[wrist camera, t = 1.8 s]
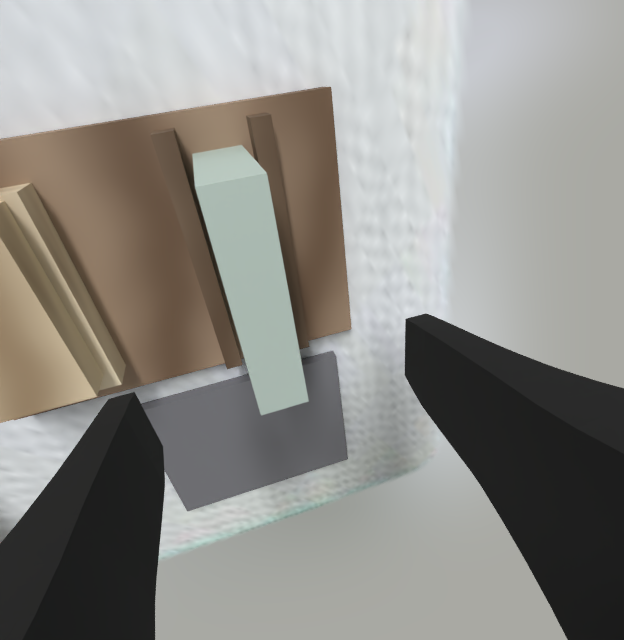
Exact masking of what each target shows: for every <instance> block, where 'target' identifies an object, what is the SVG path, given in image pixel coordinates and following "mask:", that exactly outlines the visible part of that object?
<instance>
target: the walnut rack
mask: <svg viewBox="0 0 624 640" xmlns="http://www.w3.org/2000/svg"><path fill="white" fill-rule="evenodd" d="M238 145H242V146H243V147H244V148H245V149H246V150H247V151H248V152H249V154H250V155H251V156H252V157H253V158H254V159H255V160H256V161H257V162H258V164H259V165H260V166H261V167H262V168H263V169H264V170H265V171H266V173H267V176H268V181H269V187H270V192H271V198H272V203H273V209H274V214H275V220H276V225H277V231H278V236H279V242H280V247H281V253H282V258H283V263H284V269H285V274H286V280H287V285H288V291H289V296H290V302H291V307H292V313H293V318H294V324H295V329H296V334H297V340H298V345H299V349H303V348H306V347H309V343H308V341H309V340H313V339H317V338H320V337H324V336H328V335H331V334H335V333H339V332H342V331H346V330H350V329H351V319H350V307H349V295H348V283H347V271H346V259H345V247H344V235H343V223H342V211H341V199H340V187H339V175H338V163H337V151H336V140H335V128H334V116H333V104H332V92H331V87H320V88H313V89H307V90H301V91H295V92H289V93H283V94H276V95H270V96H264V97H258V98H252V99H245V100H239V101H233V102H227V103H221V104H214V105H208V106H202V107H196V108H190V109H184V110H177V111H171V112H165V113H159V114H153V115H146V116H140V117H134V118H128V119H122V120H115V121H109V122H103V123H97V124H91V125H85V126H78V127H72V128H66V129H60V130H54V131H47V132H41V133H35V134H29V135H23V136H16V137H10V138H4V139H0V188H5V187H11V186H16V185H22V184H27V183H32V185H33V187H34V189H35V191H36V193H37V195H38V197H39V198H40V200H41V202H42V204H43V206H44V208H45V210H46V212H47V214H48V216H49V218H50V220H51V222H52V224H53V226H54V227H55V229H56V231H57V233H58V235H59V237H60V239H61V241H62V243H63V245H64V247H65V249H66V251H67V253H68V254H69V256H70V258H71V260H72V262H73V264H74V266H75V268H76V270H77V272H78V274H79V276H80V278H81V280H82V281H83V283H84V285H85V287H86V289H87V291H88V293H89V295H90V297H91V299H92V301H93V303H94V305H95V307H96V308H97V310H98V312H99V314H100V316H101V318H102V320H103V322H104V324H105V326H106V328H107V330H108V332H109V334H110V336H111V337H112V339H113V341H114V343H115V345H116V347H117V349H118V351H119V353H120V355H121V357H122V359H123V361H124V363H125V364H126V367H125V372H124V377H123V381H122V385H118V386H114V387H111V388H107V389H103V390H99V392H98V396H97V397H94V398H91V399H95V398H98V397H102V396H106V395H109V394H113V393H117V392H120V391H124V390H128V389H132V388H135V387H139V386H143V385H146V384H150V383H154V382H157V381H161V380H165V379H169V378H172V377H176V376H180V375H183V374H187V373H191V372H194V371H198V370H202V369H206V368H209V367H213V366H217V365H220V364H224V363H225V364H226V367H227V369H229V368H233V367H237V366H240V365H242V360H241V359H243V358H244V355H243V352H242V348H241V345H240V341H239V338H238V334H237V331H236V327H235V324H234V320H233V317H232V314H231V310H230V307H229V303H228V300H227V296H226V293H225V289H224V286H223V282H222V279H221V275H220V272H219V269H218V265H217V262H216V258H215V255H214V251H213V248H212V244H211V241H210V237H209V234H208V230H207V227H206V224H205V220H204V217H203V213H202V210H201V206H200V203H199V199H198V196H197V192H196V189H195V181H194V168H193V155H192V154H194V153H199V152H205V151H210V150H216V149H221V148H227V147H232V146H238ZM91 399H87V400H91ZM87 400H83V401H87ZM83 401H80V402H83ZM80 402H76V403H80ZM76 403H72V404H76ZM72 404H68V405H65V406H69V405H72ZM65 406H61V407H65ZM61 407H57V408H54V409H58V408H61ZM54 409H50V410H54ZM50 410H46V411H50ZM46 411H43V412H46ZM43 412H39V413H43ZM39 413H35V414H39ZM35 414H31V415H28V416H32V415H35ZM28 416H24V417H28ZM24 417H20V418H17V419H21V418H24ZM17 419H14V420H17Z"/></svg>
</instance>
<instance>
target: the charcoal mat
mask: <svg viewBox="0 0 624 640" xmlns="http://www.w3.org/2000/svg"><path fill="white" fill-rule="evenodd" d="M301 362H302V367H303V373H304V378H305V384H306V389H307V395H308V400H309V401H308V402H305V403H302V404H298V405H295V406H292V407H288V408H285V409H281V410H278V411H275V412H271V413H268V414H265V415H261V414H260V410H259V407H258V404H257V400H256V397H255V393H254V390H253V386H252V383H251V379H250V376H249V374H247V375H244V376H240V377H237V378H233V379H229V380H226V381H222V382H219V383H215V384H211V385H208V386H204V387H201V388H197V389H193V390H190V391H186V392H183V393H179V394H175V395H172V396H168V397H165V398H161V399H157V400H154V401H150V402H147V403H143V404H141V405H142V407H143V409H144V411H145V413H146V415H147V417H148V418H149V420H150V422H151V424H152V426H153V428H154V430H155V432H156V434H157V436H158V437H159V439H160V441H161V443H162V445H163V452H164V470H165V472H166V474H167V475H168V477H169V479H170V481H171V483H172V484H173V486H174V488H175V490H176V492H177V493H178V495H179V497H180V499H181V501H182V502H183V504H184V506H185V508H186V510H187V511H190V510H193V509H196V508H199V507H202V506H205V505H209V504H212V503H215V502H218V501H221V500H224V499H227V498H230V497H233V496H236V495H239V494H242V493H245V492H248V491H251V490H254V489H257V488H261V487H264V486H267V485H270V484H273V483H276V482H279V481H282V480H285V479H288V478H291V477H294V476H297V475H300V474H303V473H306V472H309V471H312V470H316V469H319V468H322V467H325V466H328V465H331V464H334V463H337V462H340V461H343V460H346V459H348V456H347V447H346V439H345V430H344V422H343V413H342V405H341V396H340V388H339V379H338V371H337V362H336V356H335V354H334V352H333V351H330V352H327V353H323V354H319V355H316V356H312V357H309V358H305V359H301Z"/></svg>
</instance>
